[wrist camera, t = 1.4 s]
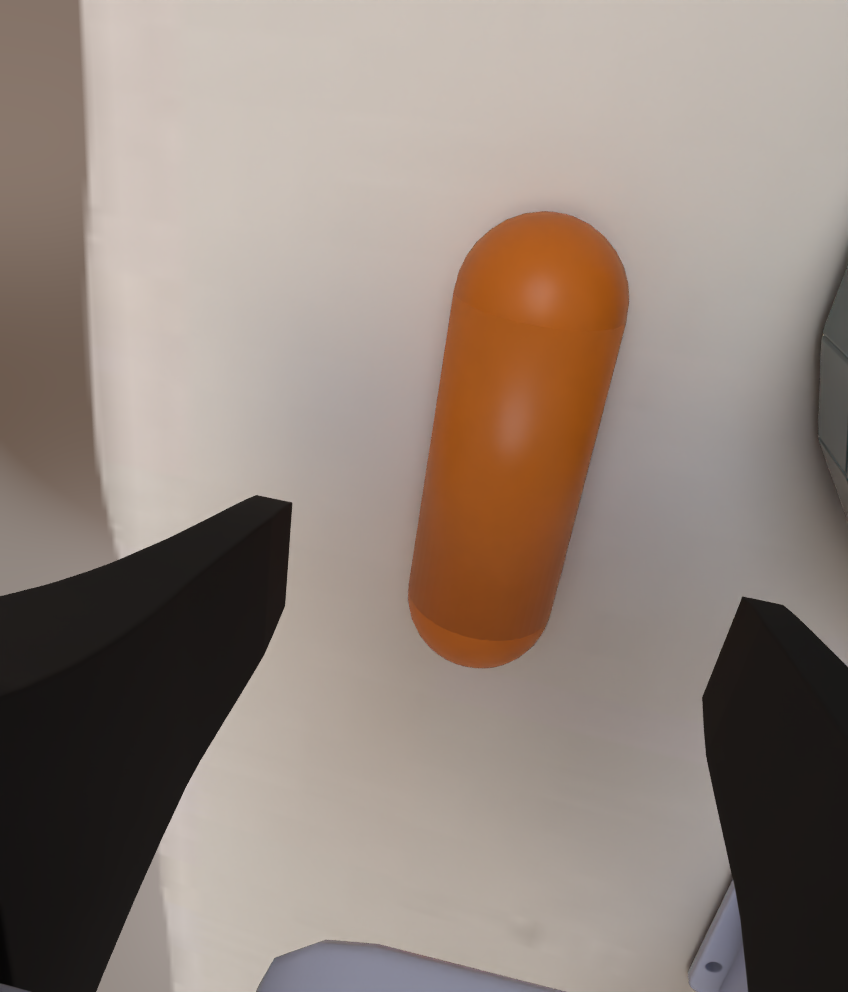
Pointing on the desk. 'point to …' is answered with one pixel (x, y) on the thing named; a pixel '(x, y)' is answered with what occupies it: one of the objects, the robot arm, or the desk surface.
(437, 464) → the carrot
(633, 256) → the desk surface
